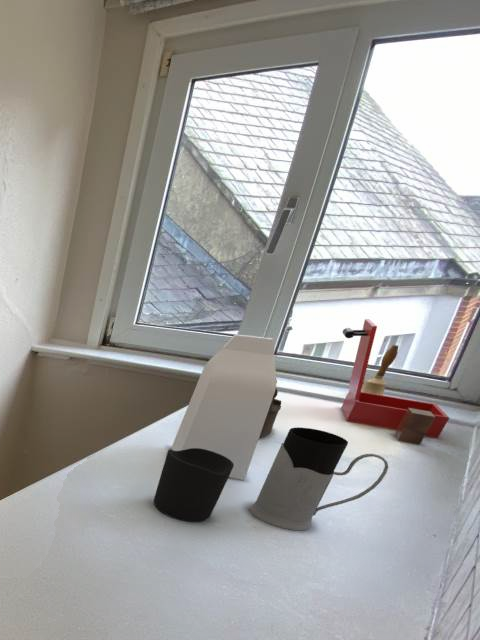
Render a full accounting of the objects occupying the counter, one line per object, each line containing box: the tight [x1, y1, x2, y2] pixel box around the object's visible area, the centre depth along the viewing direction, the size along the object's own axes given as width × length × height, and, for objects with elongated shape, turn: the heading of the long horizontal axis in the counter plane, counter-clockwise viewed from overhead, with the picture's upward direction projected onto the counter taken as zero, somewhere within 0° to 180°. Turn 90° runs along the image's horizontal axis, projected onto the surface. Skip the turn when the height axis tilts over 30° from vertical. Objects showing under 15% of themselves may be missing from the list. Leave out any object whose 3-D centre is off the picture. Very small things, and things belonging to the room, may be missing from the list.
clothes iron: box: [259, 379, 282, 439], centre depth 129 cm, size 8×16×13 cm, turn 140°
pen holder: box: [153, 448, 234, 523], centre depth 92 cm, size 9×9×10 cm
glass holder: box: [249, 427, 389, 531], centre depth 89 cm, size 9×14×15 cm, turn 60°
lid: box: [342, 318, 378, 400], centre depth 143 cm, size 18×14×5 cm
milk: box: [171, 333, 277, 481], centre depth 108 cm, size 12×12×26 cm
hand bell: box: [361, 344, 399, 396], centre depth 159 cm, size 8×8×16 cm
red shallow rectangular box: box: [340, 389, 450, 439], centre depth 142 cm, size 18×14×5 cm
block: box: [393, 408, 435, 446], centre depth 130 cm, size 4×5×7 cm
